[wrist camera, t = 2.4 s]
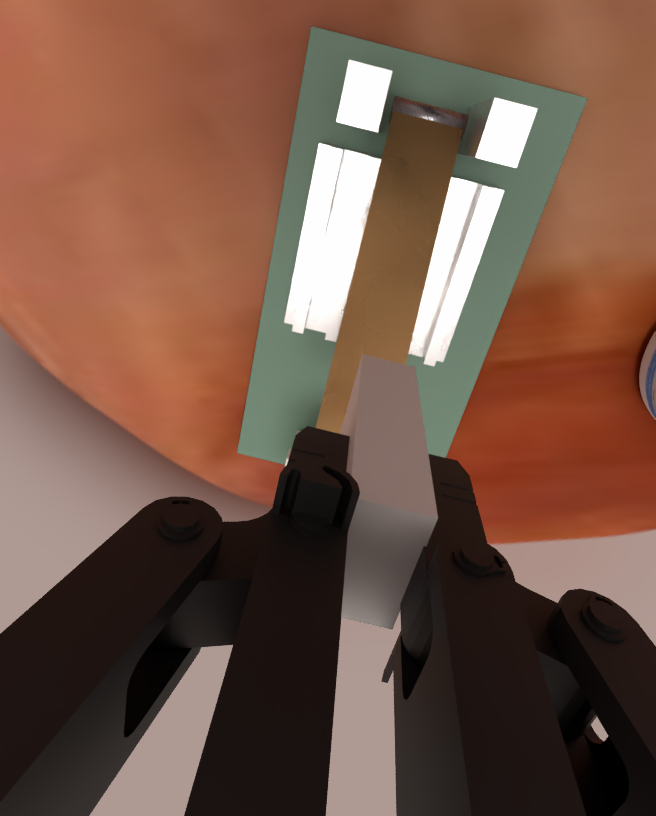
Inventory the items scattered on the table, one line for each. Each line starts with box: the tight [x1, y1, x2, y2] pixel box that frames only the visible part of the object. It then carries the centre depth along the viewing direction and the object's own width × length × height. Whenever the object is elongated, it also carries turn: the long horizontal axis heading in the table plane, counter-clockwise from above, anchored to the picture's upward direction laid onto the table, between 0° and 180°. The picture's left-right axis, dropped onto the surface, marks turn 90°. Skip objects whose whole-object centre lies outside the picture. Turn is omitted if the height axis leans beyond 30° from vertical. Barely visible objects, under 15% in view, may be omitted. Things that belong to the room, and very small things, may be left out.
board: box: [237, 26, 588, 464], centre depth 30 cm, size 24×13×1 cm, turn 167°
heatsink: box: [284, 60, 537, 366], centre depth 25 cm, size 12×9×6 cm
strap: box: [316, 96, 469, 434], centre depth 22 cm, size 16×3×1 cm, turn 168°
